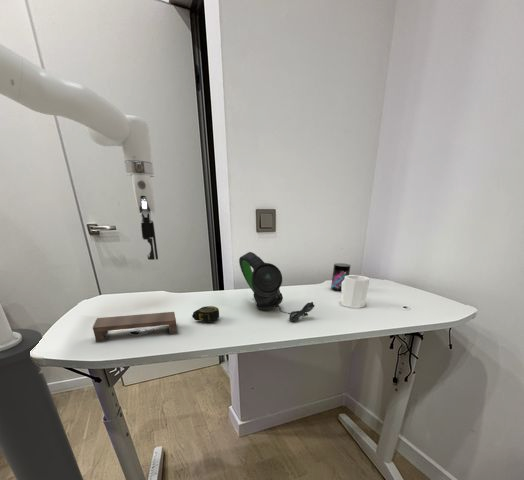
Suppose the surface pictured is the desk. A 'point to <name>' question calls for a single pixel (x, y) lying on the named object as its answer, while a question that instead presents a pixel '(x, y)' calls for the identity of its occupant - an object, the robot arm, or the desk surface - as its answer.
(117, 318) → the shelf
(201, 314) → the tape measure
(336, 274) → the supplement container
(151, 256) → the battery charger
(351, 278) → the mug
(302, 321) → the desk surface
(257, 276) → the headset
